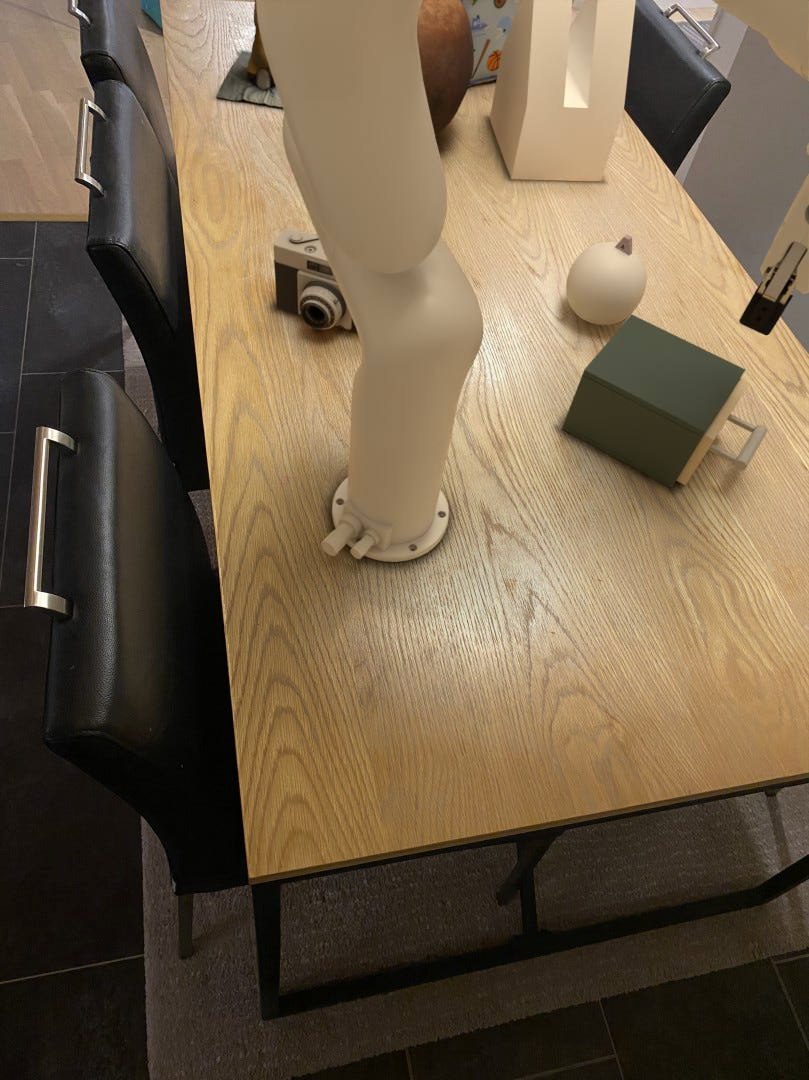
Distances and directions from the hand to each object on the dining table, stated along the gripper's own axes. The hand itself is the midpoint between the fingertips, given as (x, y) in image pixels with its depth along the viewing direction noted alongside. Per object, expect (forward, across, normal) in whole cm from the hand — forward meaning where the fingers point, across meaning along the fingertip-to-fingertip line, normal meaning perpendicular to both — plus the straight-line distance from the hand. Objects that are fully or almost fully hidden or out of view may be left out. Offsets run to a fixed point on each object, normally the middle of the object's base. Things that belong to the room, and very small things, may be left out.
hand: (755, 325), depth 76 cm
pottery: (+19, +37, +69) cm, 81 cm away
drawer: (+18, 0, +2) cm, 18 cm away
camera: (+19, -10, +47) cm, 52 cm away
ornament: (+19, +16, +20) cm, 32 cm away
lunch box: (+19, +67, +69) cm, 98 cm away
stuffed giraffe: (+19, +35, +94) cm, 102 cm away
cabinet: (+19, 0, +6) cm, 20 cm away
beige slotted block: (+19, +50, +47) cm, 71 cm away
